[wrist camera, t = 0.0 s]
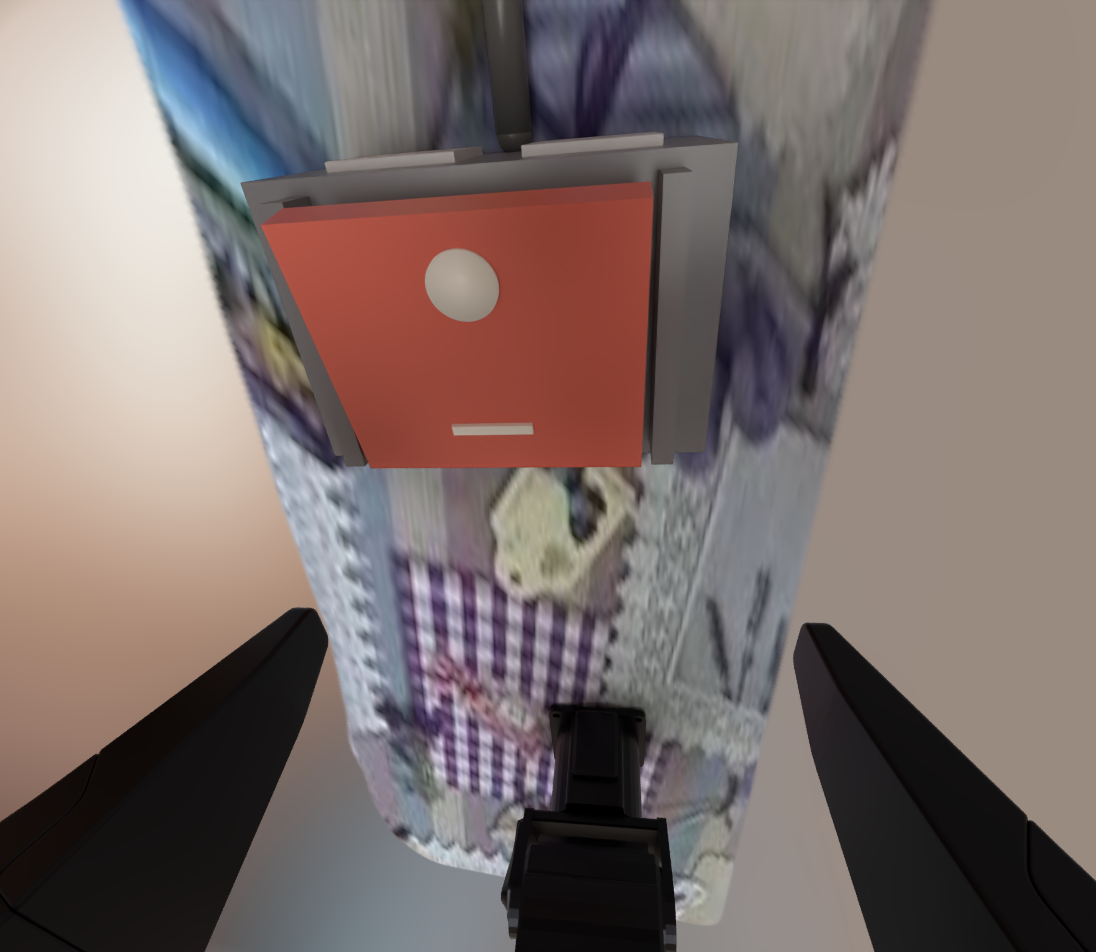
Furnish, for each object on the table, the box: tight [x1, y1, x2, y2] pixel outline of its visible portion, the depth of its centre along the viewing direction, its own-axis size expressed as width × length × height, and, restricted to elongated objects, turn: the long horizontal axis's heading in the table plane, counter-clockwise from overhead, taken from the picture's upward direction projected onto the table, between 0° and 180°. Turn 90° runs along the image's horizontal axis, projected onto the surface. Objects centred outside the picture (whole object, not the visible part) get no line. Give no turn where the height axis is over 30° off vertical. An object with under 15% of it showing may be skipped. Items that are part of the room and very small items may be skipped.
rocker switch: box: [261, 181, 653, 468], centre depth 13 cm, size 7×8×1 cm
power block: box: [241, 0, 738, 466], centre depth 15 cm, size 16×12×8 cm
